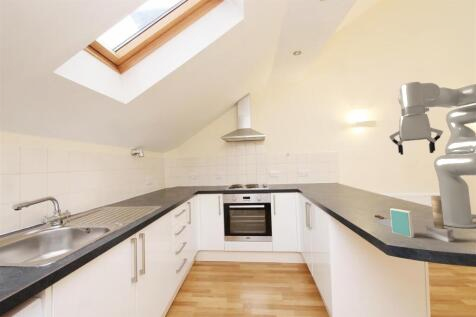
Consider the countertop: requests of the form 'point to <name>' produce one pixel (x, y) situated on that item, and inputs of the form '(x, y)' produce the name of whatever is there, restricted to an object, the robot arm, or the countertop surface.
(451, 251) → the countertop surface
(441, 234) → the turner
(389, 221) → the kitchen cleaver
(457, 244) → the countertop surface
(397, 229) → the tile
